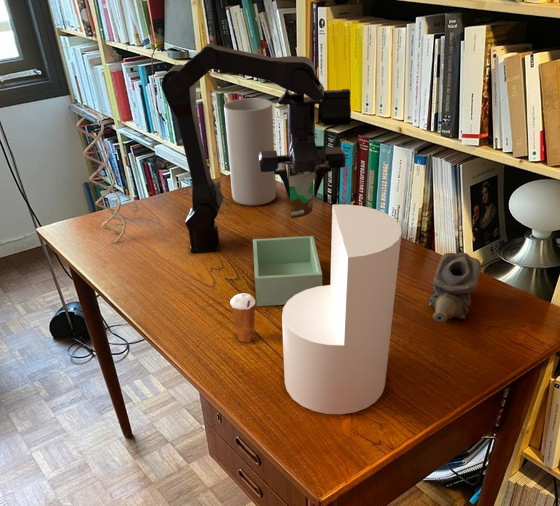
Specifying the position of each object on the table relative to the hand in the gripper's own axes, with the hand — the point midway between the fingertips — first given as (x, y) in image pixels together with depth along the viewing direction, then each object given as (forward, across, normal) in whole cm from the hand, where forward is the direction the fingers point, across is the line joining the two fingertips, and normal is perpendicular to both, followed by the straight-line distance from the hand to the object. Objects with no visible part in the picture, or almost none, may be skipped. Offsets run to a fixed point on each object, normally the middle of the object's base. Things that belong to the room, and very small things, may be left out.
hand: (302, 197), depth 129 cm
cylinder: (+12, 0, -51) cm, 53 cm away
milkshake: (+12, -15, -37) cm, 42 cm away
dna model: (+13, -47, +12) cm, 50 cm away
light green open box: (+12, -5, -17) cm, 22 cm away
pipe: (+12, +26, -35) cm, 45 cm away
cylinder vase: (+13, -11, +32) cm, 36 cm away
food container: (+3, 0, 0) cm, 3 cm away
